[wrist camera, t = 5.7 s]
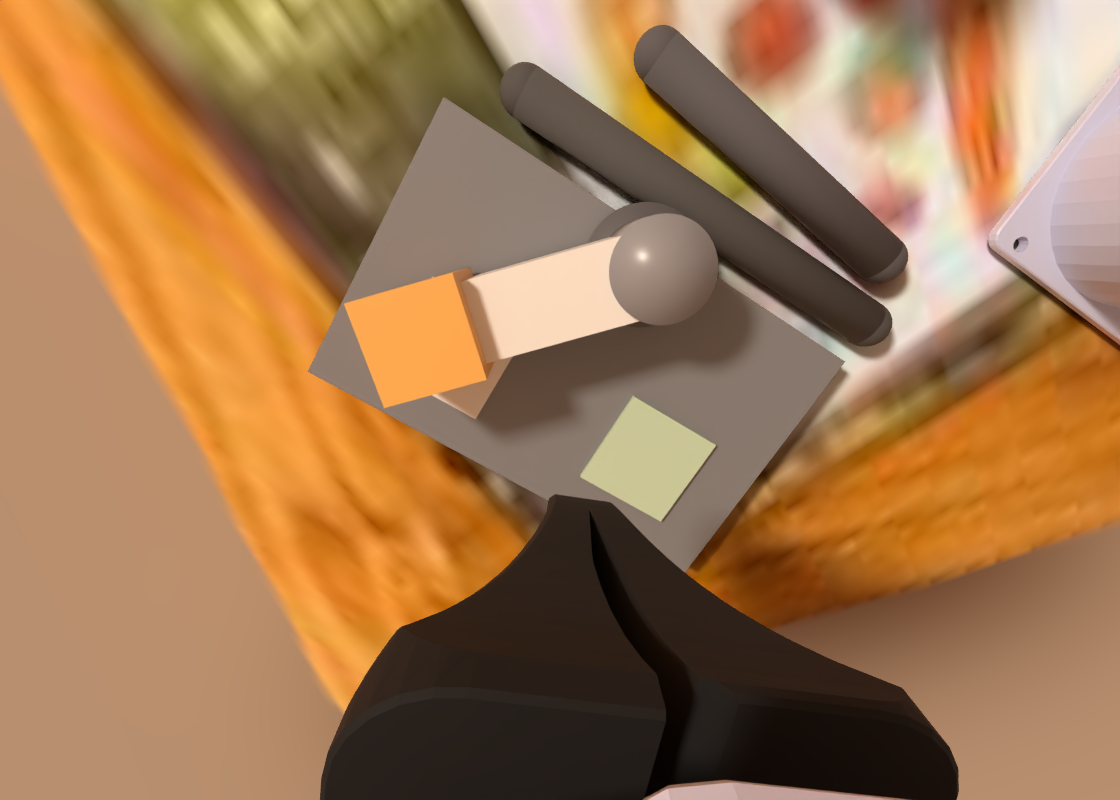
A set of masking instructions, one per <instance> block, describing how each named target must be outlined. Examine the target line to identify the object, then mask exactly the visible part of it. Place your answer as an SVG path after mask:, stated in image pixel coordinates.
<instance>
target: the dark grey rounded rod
mask: <svg viewBox="0 0 1120 800" xmlns="http://www.w3.org/2000/svg"><path fill="white" fill-rule="evenodd" d="M634 65H635V69H636V72H637V74H638V75H639V77H640V78H641V79H642V80H643V82H645V83H646V84H647V85H648V86H649V87H650V88H651V89H652V90H653V91H655V92H656V93H657V94H658V95H659V96H660V97H661V98H662V99H663V100H665V101H666V102H667V103H668V104H669V105H670V106H671V107H672V108H673V109H675V110H676V111H677V112H678V113H679V114H680V115H681V116H682V117H683V118H685V119H686V120H687V121H688V122H689V123H690V124H691V125H692V126H693V127H695V128H696V129H697V130H698V131H699V132H700V133H701V134H702V135H703V136H705V137H706V138H707V139H708V140H709V141H710V142H711V143H712V144H713V145H715V146H716V147H717V148H718V149H719V150H720V151H721V152H722V153H723V154H725V155H726V156H727V157H728V158H729V159H730V160H731V161H732V162H733V163H735V164H736V165H737V166H738V167H739V168H740V169H741V170H742V171H743V172H744V173H746V174H747V175H748V176H749V177H750V178H751V179H752V180H753V181H754V182H756V183H757V184H758V185H759V186H760V187H761V188H762V189H763V190H764V191H766V192H767V193H768V194H769V195H770V196H771V197H772V198H773V199H774V200H776V201H777V202H778V203H779V204H780V205H781V206H782V207H783V208H784V209H786V210H787V211H788V212H789V213H790V214H791V215H792V216H793V217H794V218H796V219H797V220H798V221H799V222H800V223H801V224H802V225H803V226H804V227H806V228H807V229H808V230H809V231H810V232H811V233H812V234H813V235H814V236H816V237H817V238H818V239H819V240H820V241H821V242H822V243H823V244H824V245H826V246H827V247H828V248H829V249H830V250H831V251H832V252H833V253H834V254H836V255H837V256H838V257H839V258H840V259H841V260H842V261H843V262H844V263H846V264H847V265H848V266H849V267H850V268H851V269H852V270H853V271H854V272H856V273H857V274H858V275H859V276H860V277H861V278H863V279H864V280H866V281H868V282H872V283H883V282H887V281H890V280H892V279H894V278H895V277H897V276H898V275H899V274H900V273H901V272H902V271H903V270H904V268H905V266H906V264H907V261H908V251H907V248H906V246H905V245H904V243H903V242H902V241H901V240H900V239H899V238H898V237H897V236H896V235H895V234H893V233H892V232H891V231H890V230H889V229H888V228H887V227H886V226H885V225H884V224H883V223H882V222H881V221H880V220H879V219H877V218H876V217H875V216H874V215H873V214H872V213H871V212H870V211H869V210H868V209H867V208H866V207H865V206H864V205H863V204H861V203H860V202H859V201H858V200H857V199H856V198H855V197H854V196H853V195H852V194H851V193H850V192H849V191H848V190H847V189H846V188H844V187H843V186H842V185H841V184H840V183H839V182H838V181H837V180H836V179H835V178H834V177H833V176H832V175H831V174H830V173H828V172H827V171H826V170H825V169H824V168H823V167H822V166H821V165H820V164H819V163H818V162H817V161H816V160H815V159H814V158H812V157H811V156H810V155H809V154H808V153H807V152H806V151H805V150H804V149H803V148H802V147H801V146H800V145H799V144H798V143H797V142H795V141H794V140H793V139H792V138H791V137H790V136H789V135H788V134H787V133H786V132H785V131H784V130H783V129H782V128H781V127H779V126H778V125H777V124H776V123H775V122H774V121H773V120H772V119H771V118H770V117H769V116H768V115H767V114H766V113H765V112H763V111H762V110H761V109H760V108H759V107H758V106H757V105H756V104H755V103H754V102H753V101H752V100H751V99H750V98H749V97H748V96H746V95H745V94H744V93H743V92H742V91H741V90H740V89H739V88H738V87H737V86H736V85H735V84H734V83H733V82H732V81H730V80H729V79H728V78H727V77H726V76H725V75H724V74H723V73H722V72H721V71H720V70H719V69H718V68H717V67H716V66H714V65H713V64H712V63H711V62H710V61H709V60H708V59H707V58H706V57H705V56H704V55H703V54H702V53H701V52H700V51H699V50H697V49H696V48H695V47H694V46H693V45H692V44H691V43H690V42H689V41H688V40H687V39H686V38H685V37H684V36H683V35H681V34H680V33H679V32H678V31H677V30H676V29H674V28H672V27H670V26H666V25H659V26H655V27H653V28H651V29H649V30H648V31H646V32H645V33H644V34H643V35H642V37H641V38H640V39H639V41H638V43H637V45H636V48H635V53H634Z"/></svg>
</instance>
